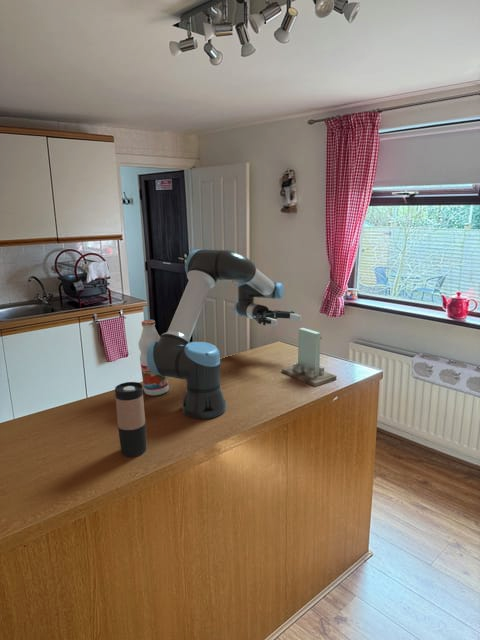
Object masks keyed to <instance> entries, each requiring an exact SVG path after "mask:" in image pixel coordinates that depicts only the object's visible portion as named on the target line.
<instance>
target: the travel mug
mask: <svg viewBox="0 0 480 640" xmlns="http://www.w3.org/2000/svg"><path fill="white" fill-rule="evenodd" d="M143 391H144V388H143V383H140V382H137V381H127V382H123V383H120V384H117V385H116V386H115V388H114V392H115V393H114V394H115V395H114V396H115V407H116V419H117V429H118V430H117V431H118V437H119V445H120V452H121V454H122V456H124V457H126V458H135V457H140V456H141V455H143V454H145V452H146V451H147V434H146V433H147V431H146V430H147V429H146V416H145V415H146V414H145V403H144V392H143Z"/></svg>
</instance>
